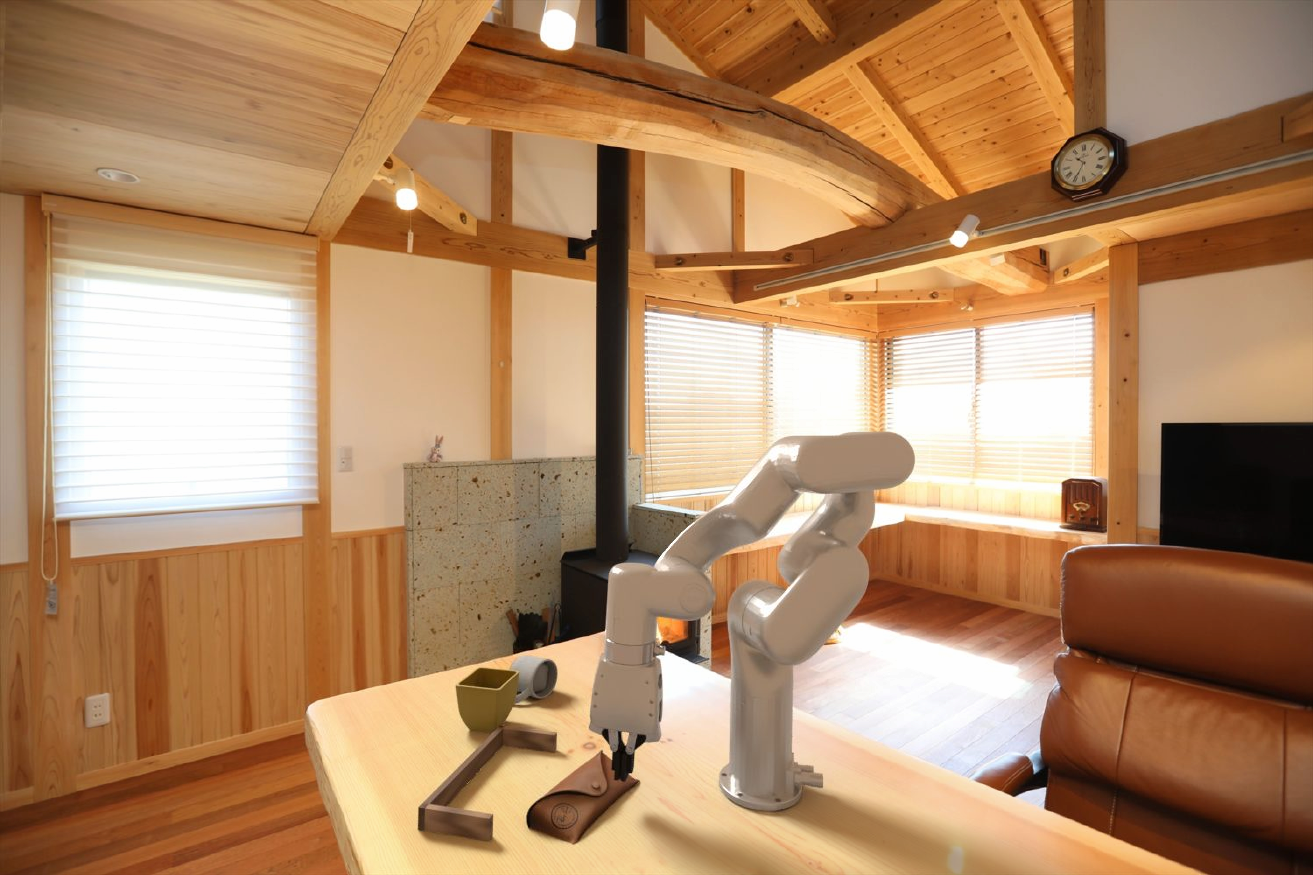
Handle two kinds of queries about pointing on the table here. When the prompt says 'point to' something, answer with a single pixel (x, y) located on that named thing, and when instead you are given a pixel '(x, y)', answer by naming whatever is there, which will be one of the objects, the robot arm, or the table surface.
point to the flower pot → (487, 697)
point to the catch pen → (465, 821)
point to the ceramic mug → (534, 676)
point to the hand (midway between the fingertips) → (622, 775)
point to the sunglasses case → (578, 800)
